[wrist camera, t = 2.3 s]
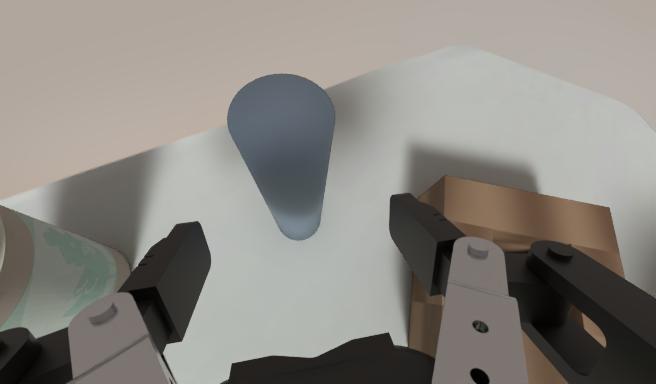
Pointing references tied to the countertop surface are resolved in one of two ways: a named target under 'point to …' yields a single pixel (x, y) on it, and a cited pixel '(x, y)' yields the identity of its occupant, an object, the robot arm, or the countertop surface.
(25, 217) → the coffee cup
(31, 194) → the countertop surface
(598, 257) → the socket block
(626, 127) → the countertop surface
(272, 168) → the dowel
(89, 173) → the countertop surface
